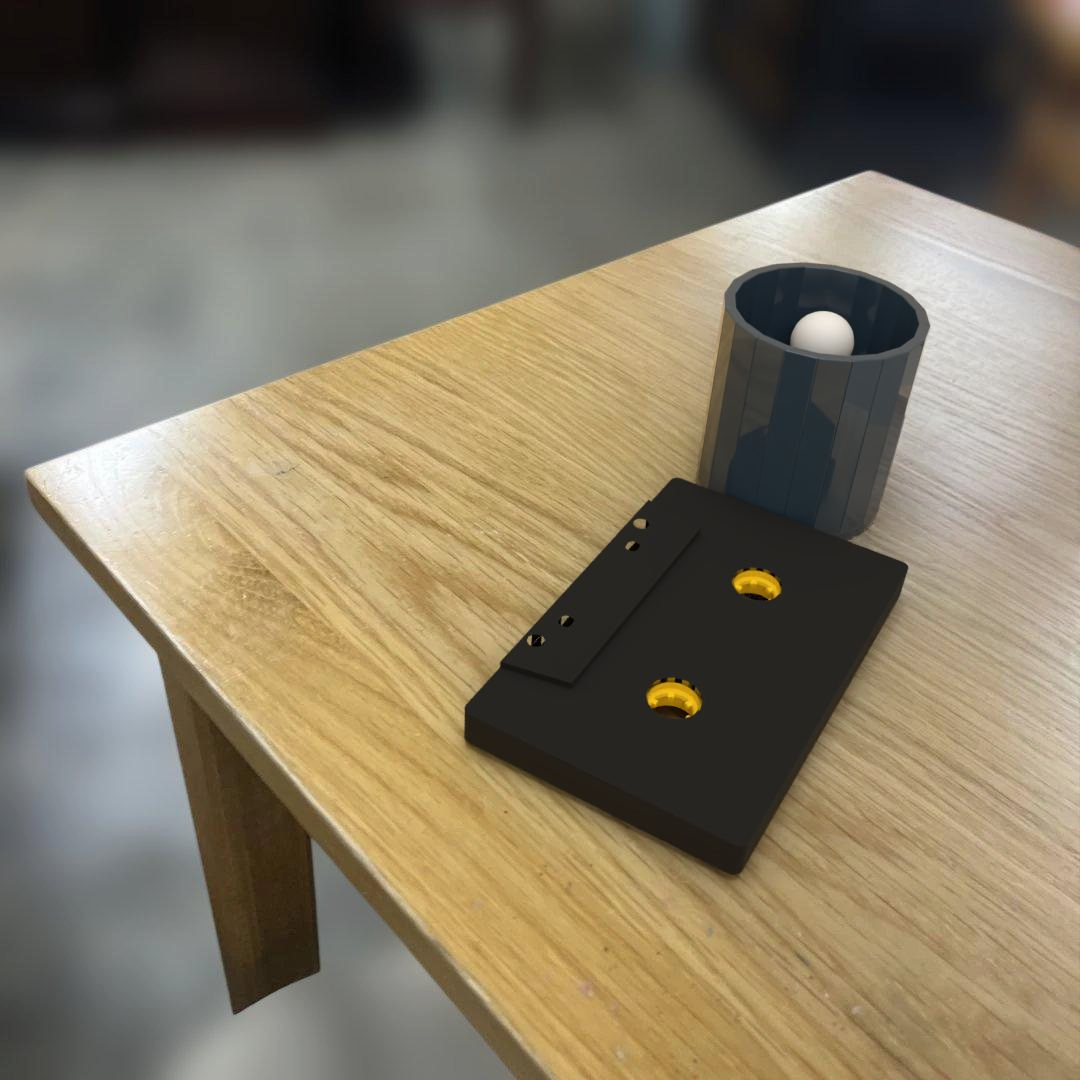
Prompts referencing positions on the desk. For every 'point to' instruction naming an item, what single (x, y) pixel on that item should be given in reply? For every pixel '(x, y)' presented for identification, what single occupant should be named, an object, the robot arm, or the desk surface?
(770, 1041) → the desk surface
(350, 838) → the desk surface
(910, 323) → the pen holder
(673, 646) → the cassette tape
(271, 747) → the desk surface
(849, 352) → the chess pawn
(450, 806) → the desk surface
